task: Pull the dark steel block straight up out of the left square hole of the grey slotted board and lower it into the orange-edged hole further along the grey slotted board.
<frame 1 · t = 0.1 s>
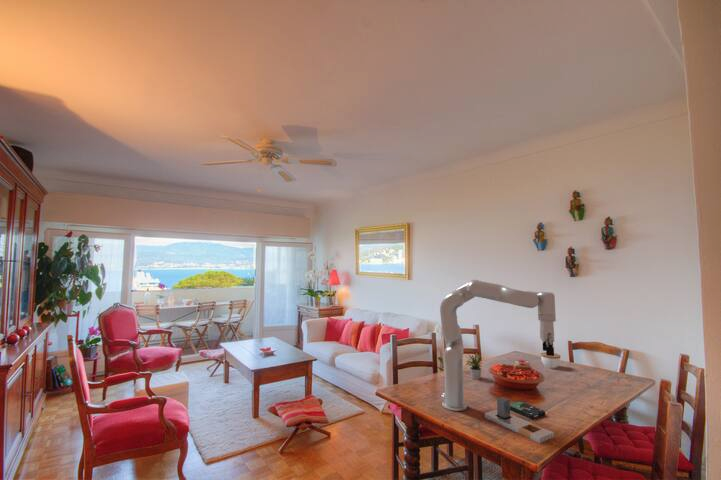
hand: (548, 353, 166), 31 cm above the table, tool pointing down, fingers open, 9 cm apart
lidded bowl: (550, 367, 248), on the table
steel block: (503, 420, 162), resting in grey slotted board
grey slotted board: (517, 426, 156), on the table
house plant: (474, 377, 225), on the table
disk drive: (525, 413, 172), on the table
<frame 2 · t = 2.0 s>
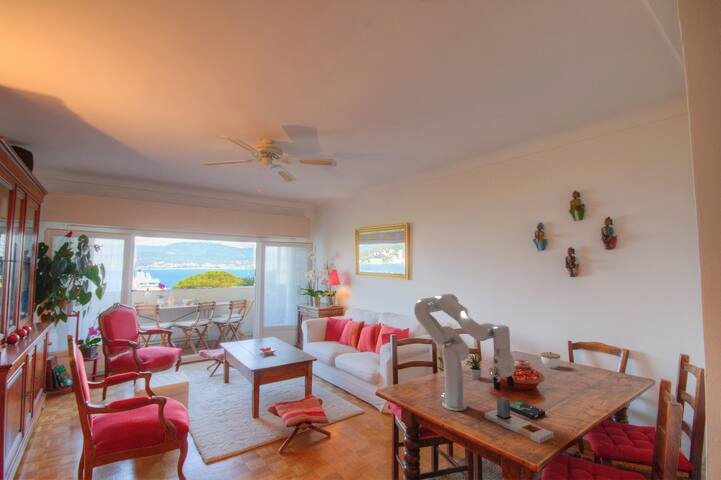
hand: (504, 388, 163), 15 cm above the table, tool pointing down, fingers open, 9 cm apart
nothing on the table moved.
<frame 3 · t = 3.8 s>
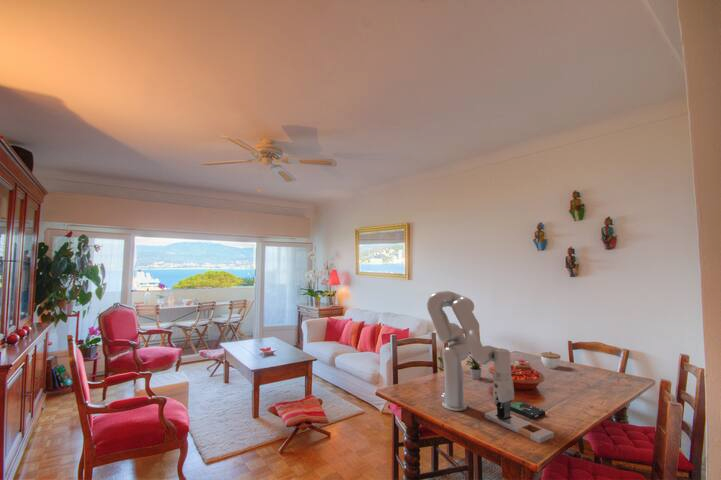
hand: (503, 414, 163), 3 cm above the table, tool pointing down, fingers closed on steel block, 4 cm apart
steel block: (503, 420, 162), resting in grey slotted board, touching gripper
everything else where it was.
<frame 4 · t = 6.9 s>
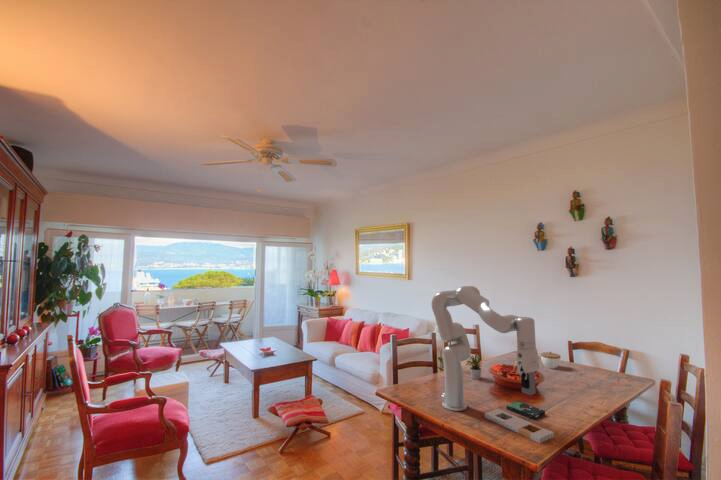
hand: (528, 386, 152), 20 cm above the table, tool pointing down, fingers closed on steel block, 4 cm apart
steel block: (528, 393, 152), point 17 cm above the table, touching gripper
everything else where it was.
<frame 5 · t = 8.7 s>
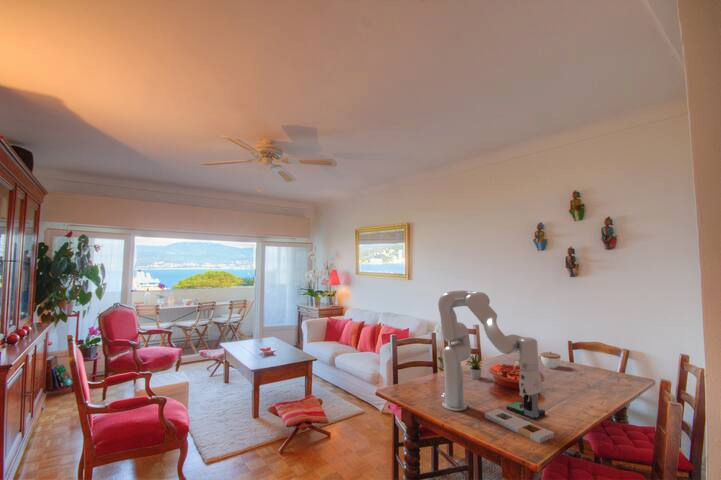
hand: (531, 408, 151), 11 cm above the table, tool pointing down, fingers closed on steel block, 4 cm apart
steel block: (531, 414, 151), point 8 cm above the table, touching gripper
everything else where it was.
when the fingers open (4 cm above the table, at t = 10.3 s): steel block stays where it is, resting in grey slotted board.
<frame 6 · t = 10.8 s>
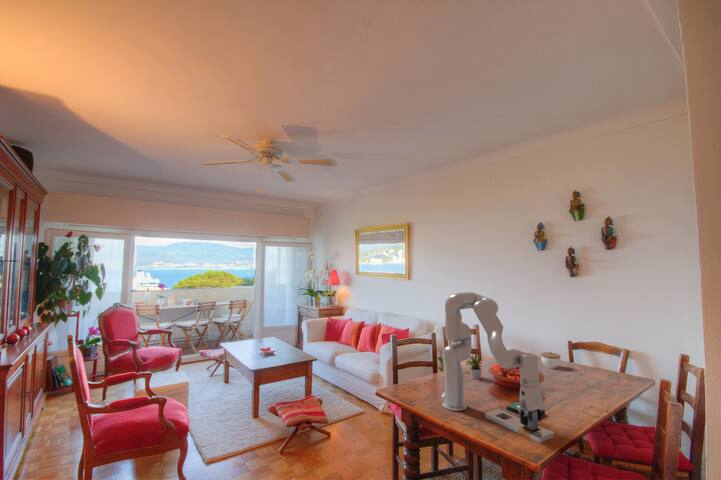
hand: (531, 421, 151), 5 cm above the table, tool pointing down, fingers open, 9 cm apart
steel block: (531, 433, 150), resting in grey slotted board
everything else where it was.
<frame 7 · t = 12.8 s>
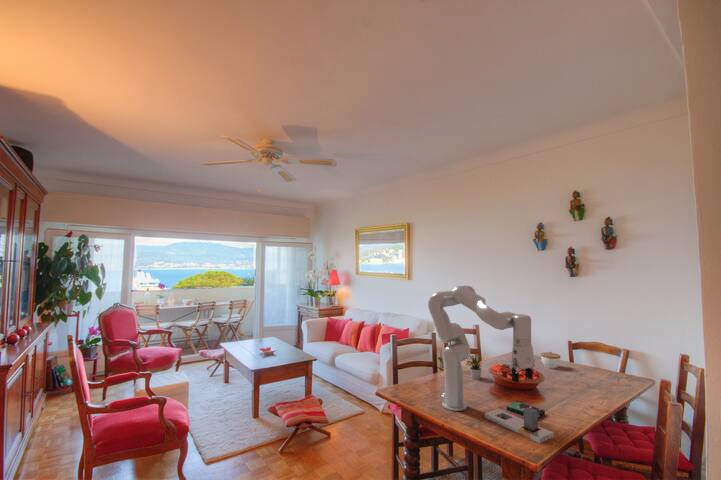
hand: (522, 380, 156), 22 cm above the table, tool pointing down, fingers open, 9 cm apart
nothing on the table moved.
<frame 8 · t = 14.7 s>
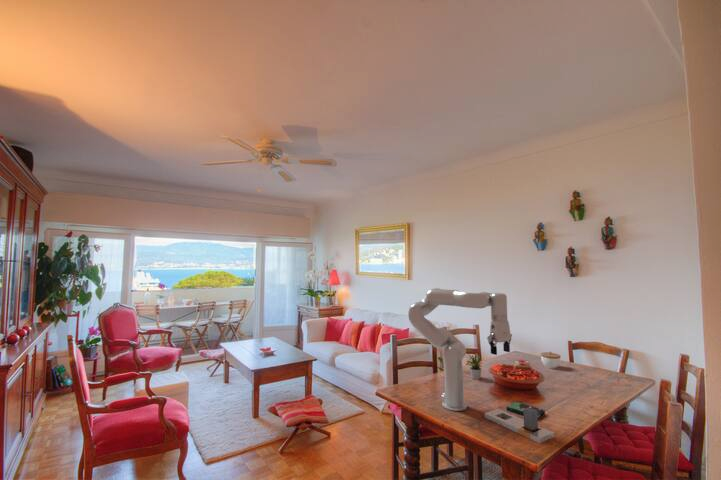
hand: (500, 352, 170), 30 cm above the table, tool pointing down, fingers open, 9 cm apart
at the end: steel block 0.1 cm from the target spot on the grey slotted board, point 0.0 cm above the grey slotted board's base; steel block tilted 0°; the gripper is holding nothing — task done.
